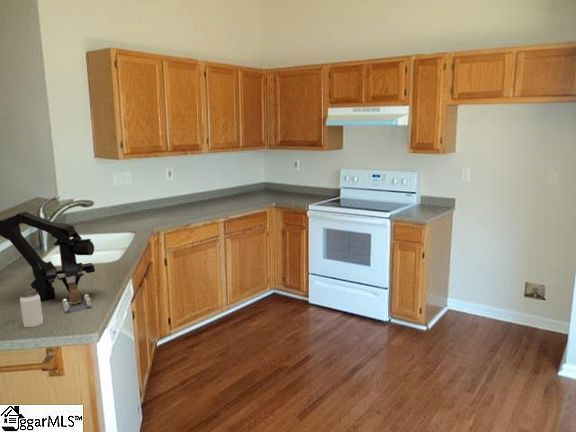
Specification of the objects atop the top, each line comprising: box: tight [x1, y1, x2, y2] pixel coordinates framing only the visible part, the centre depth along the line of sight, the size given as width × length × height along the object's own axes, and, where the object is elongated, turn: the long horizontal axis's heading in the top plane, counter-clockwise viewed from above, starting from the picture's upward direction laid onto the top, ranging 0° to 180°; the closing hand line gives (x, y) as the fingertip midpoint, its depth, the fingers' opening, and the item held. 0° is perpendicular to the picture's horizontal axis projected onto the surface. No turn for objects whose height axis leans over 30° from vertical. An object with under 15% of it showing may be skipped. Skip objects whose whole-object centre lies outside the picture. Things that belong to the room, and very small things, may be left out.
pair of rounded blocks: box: [61, 293, 92, 314], centre depth 184 cm, size 10×6×4 cm, turn 122°
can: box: [19, 290, 44, 328], centre depth 170 cm, size 6×6×12 cm
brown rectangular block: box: [67, 281, 82, 303], centre depth 192 cm, size 12×4×6 cm, turn 32°
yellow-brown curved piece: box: [69, 300, 81, 305], centre depth 189 cm, size 4×4×2 cm
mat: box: [61, 299, 93, 315], centre depth 187 cm, size 10×12×1 cm
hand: (72, 290), depth 195 cm, fingers closed on brown rectangular block, 2 cm apart
